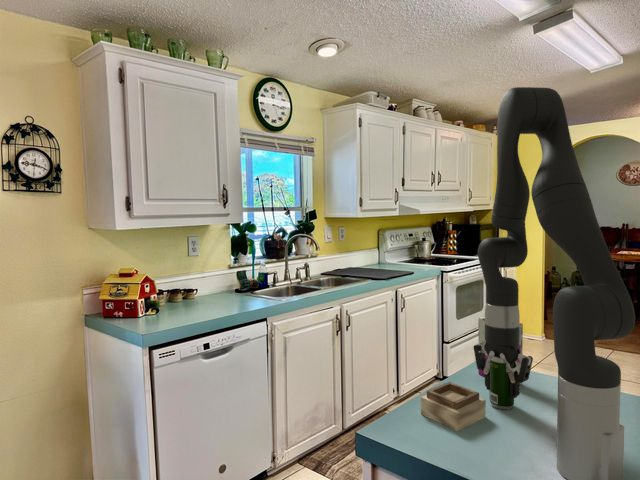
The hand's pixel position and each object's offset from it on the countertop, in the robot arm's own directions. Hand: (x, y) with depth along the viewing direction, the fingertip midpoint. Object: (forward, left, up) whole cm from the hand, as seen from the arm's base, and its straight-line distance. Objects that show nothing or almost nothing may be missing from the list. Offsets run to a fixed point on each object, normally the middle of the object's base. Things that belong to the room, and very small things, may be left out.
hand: (501, 392), depth 103 cm
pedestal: (+4, +13, -3) cm, 14 cm away
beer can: (0, 0, -3) cm, 3 cm away
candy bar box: (+9, -14, -3) cm, 17 cm away
